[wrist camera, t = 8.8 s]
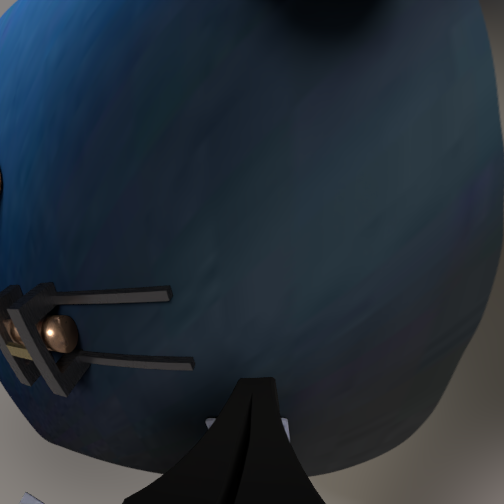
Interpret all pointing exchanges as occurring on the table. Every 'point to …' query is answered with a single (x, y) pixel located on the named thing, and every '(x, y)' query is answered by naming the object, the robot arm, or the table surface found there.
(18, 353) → the metal clamp tool
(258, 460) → the robot arm
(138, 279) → the table surface
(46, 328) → the tube
